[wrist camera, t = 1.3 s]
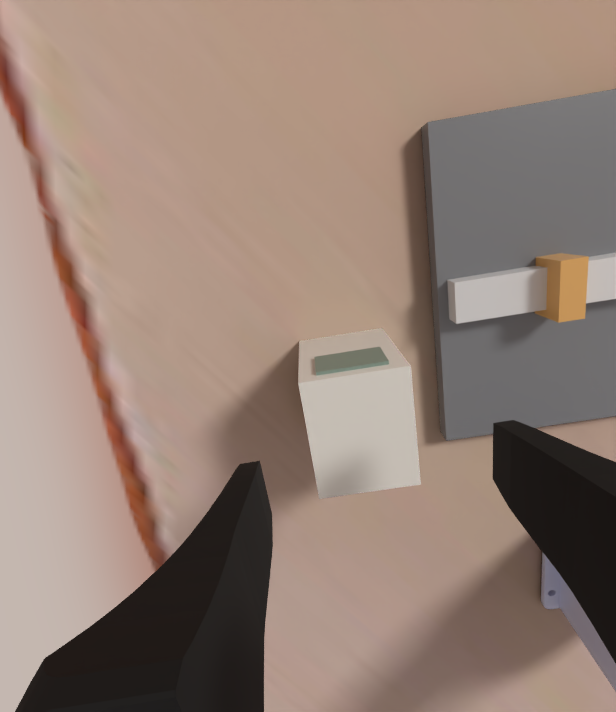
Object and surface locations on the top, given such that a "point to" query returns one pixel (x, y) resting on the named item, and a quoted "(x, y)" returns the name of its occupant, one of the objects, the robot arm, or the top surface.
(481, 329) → the mounting board
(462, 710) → the top surface
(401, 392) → the block
